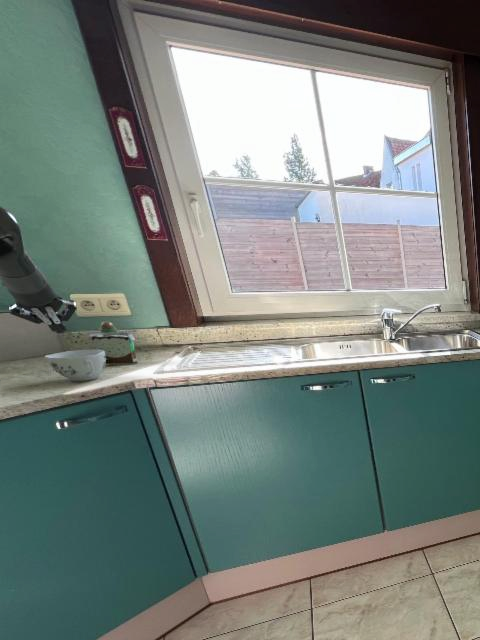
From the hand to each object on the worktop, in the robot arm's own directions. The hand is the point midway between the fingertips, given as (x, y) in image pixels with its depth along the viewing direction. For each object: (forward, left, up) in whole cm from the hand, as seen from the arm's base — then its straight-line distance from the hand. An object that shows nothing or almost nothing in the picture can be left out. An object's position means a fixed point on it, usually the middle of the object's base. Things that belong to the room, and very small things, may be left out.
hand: (60, 330), depth 135 cm
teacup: (+5, +8, -16) cm, 19 cm away
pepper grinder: (+31, +41, -16) cm, 54 cm away
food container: (+25, +26, -16) cm, 40 cm away
